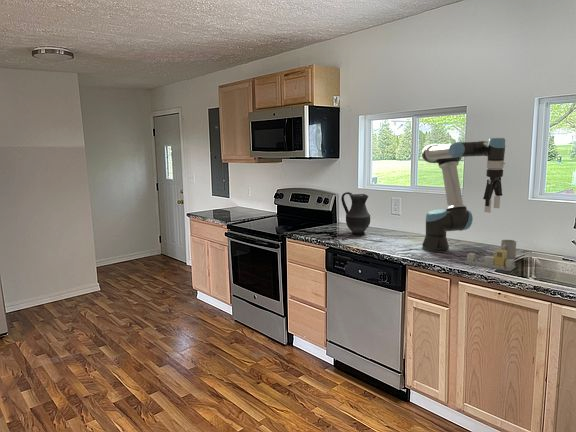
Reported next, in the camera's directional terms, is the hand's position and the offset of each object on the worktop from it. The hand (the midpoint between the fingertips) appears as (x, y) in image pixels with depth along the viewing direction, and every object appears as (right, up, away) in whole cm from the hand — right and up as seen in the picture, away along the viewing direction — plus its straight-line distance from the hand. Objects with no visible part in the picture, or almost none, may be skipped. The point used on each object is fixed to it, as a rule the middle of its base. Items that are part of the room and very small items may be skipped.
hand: (491, 210), depth 217 cm
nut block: (+2, -28, -4) cm, 29 cm away
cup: (+14, -26, +13) cm, 32 cm away
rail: (-1, -28, -1) cm, 29 cm away
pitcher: (-57, -16, +82) cm, 101 cm away
